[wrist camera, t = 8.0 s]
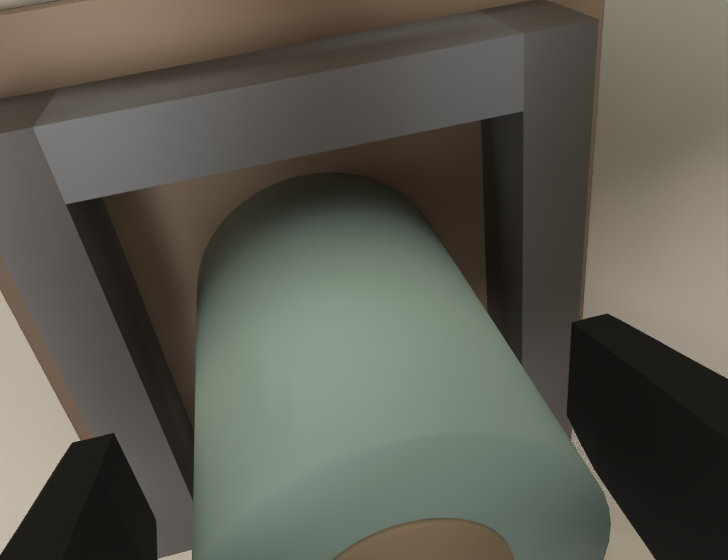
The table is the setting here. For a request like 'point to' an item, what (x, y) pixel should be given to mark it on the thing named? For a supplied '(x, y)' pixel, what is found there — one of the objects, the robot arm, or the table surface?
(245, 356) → the roll
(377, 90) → the holder
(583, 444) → the robot arm
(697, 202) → the table surface
